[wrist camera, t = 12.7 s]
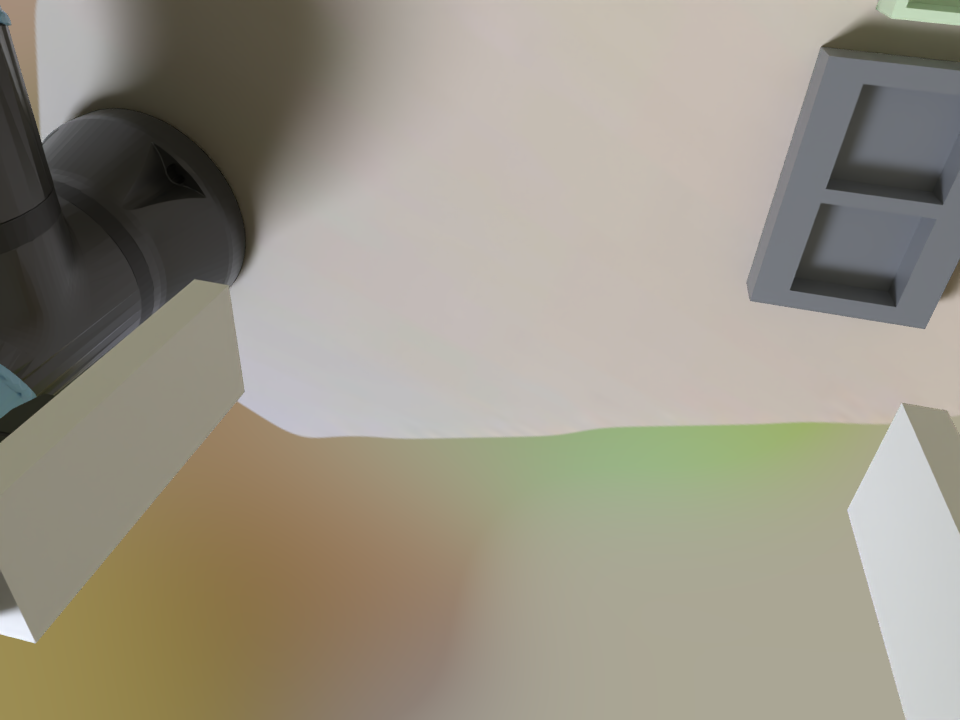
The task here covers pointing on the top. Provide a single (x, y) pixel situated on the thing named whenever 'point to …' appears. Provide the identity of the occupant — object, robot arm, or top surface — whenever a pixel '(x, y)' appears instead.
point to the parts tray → (922, 10)
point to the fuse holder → (867, 192)
